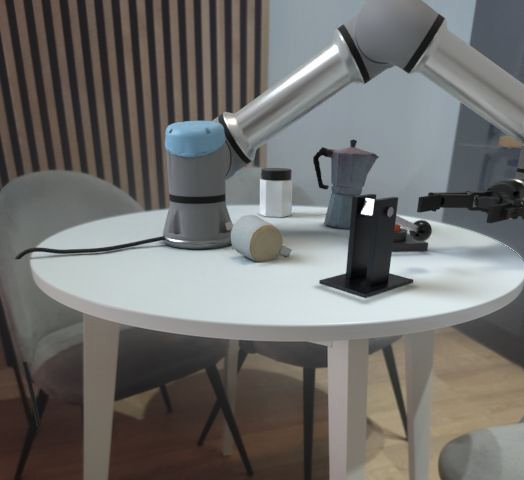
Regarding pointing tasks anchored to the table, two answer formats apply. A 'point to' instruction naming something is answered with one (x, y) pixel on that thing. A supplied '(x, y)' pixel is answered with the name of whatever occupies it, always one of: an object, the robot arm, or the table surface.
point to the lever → (402, 223)
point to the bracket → (369, 250)
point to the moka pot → (344, 180)
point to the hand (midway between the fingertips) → (452, 209)
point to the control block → (406, 242)
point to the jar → (276, 192)
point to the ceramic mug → (257, 239)
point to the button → (397, 228)
